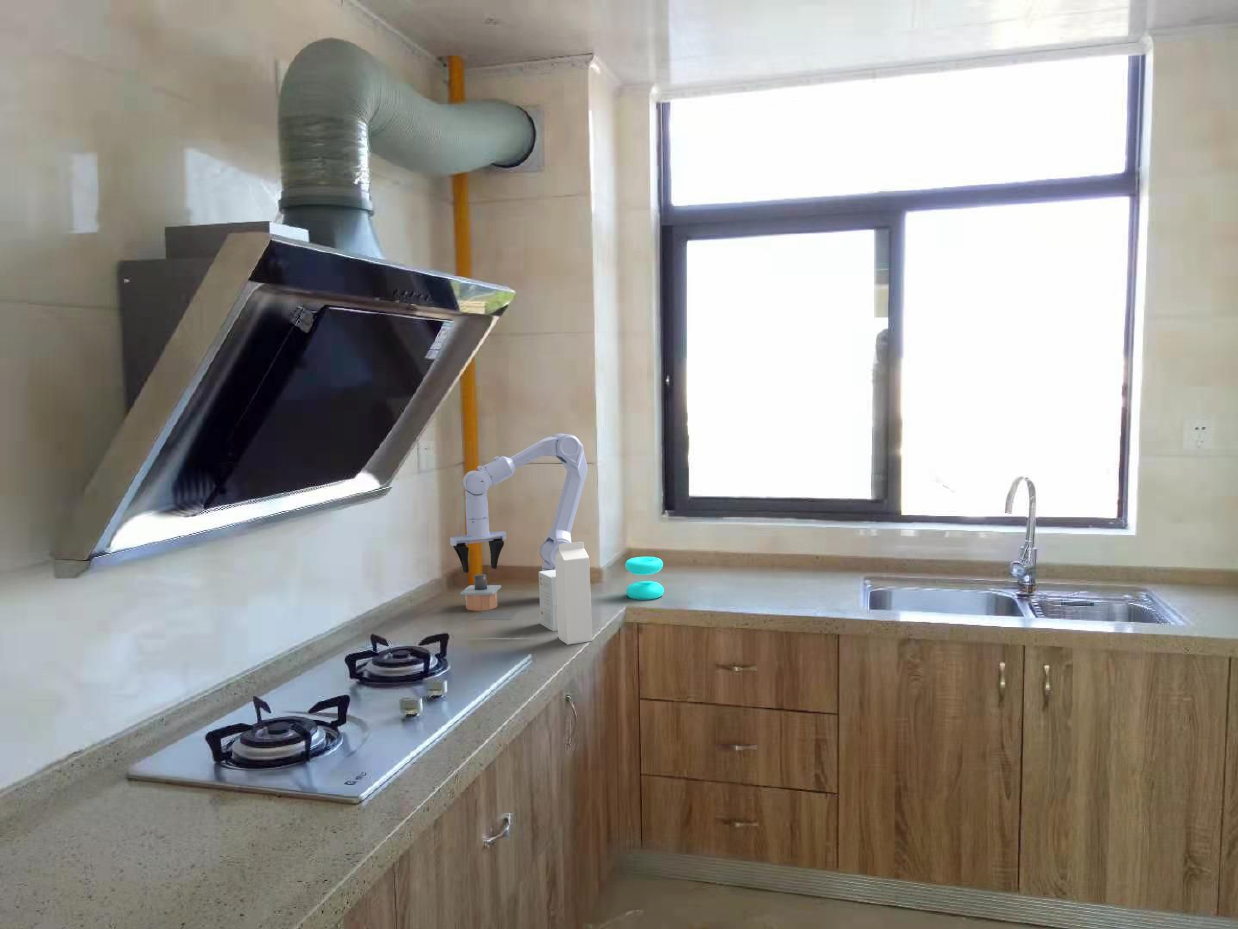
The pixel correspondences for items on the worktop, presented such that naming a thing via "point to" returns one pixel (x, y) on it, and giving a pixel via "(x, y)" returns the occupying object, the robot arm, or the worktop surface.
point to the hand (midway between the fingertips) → (480, 570)
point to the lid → (480, 587)
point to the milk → (573, 593)
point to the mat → (497, 615)
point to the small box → (548, 599)
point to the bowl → (481, 602)
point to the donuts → (644, 588)
